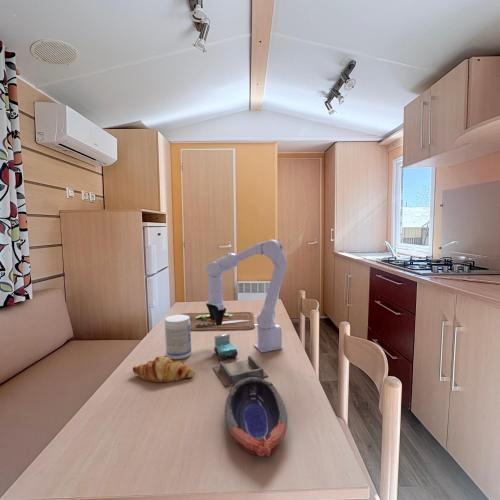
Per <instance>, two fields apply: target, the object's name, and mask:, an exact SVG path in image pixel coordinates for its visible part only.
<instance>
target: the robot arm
mask: <svg viewBox="0 0 500 500" xmlns="http://www.w3.org/2000/svg"><path fill="white" fill-rule="evenodd" d="M263 254H264V255H265V257H267V258H268V259H270V261H271V262H272V264H273V266H274V267H273V270H272V274H271V278H270V281H269V285H268V288H267V293H266V296H265V300H264V303H263V306H262V309H261V310H260V313H259V314H258V317H256V323H257V324H258V325H256V326H257V343H254V344H253V346H254V347H255V348H256V349H257V350H258V351H260V352H261V353H266V352H271V351H272V352H273V351H276V350H282V349H283V348H284V347H283V346H282V345H283V344H282V343H283V342H282V341H283V340H282V339H283V338H282V337H283V332H282V328H281V326H280V325H279V324H275V321H274V320H275V318H276V311H275V310H276V305H277V302H278V299H279V298H278V297H279V294H280V291H281V289H282V288H281V287H282V283H283V281H284V276H285V273H286V270H287V266H288V259H287V257H286V256H287V255H286V253H285V251H284V247H283V245H282V244H281V243H280V242H279V240H278V239H275V238H270V239H269V240H267V241H266V240H265V241H262V242H259V243H256V244H254V245H252V246H249V247H248V248H245V249H244V250H242V251H240V252H238V253H233V252H227V253H226V254H225V256H222V257H220V258H216V259H215V260H214V261H211V262H210V263H208V264H207V266H206V267H205V271H206V273H207V275H208V277H207V278H208V279H207V282H208V283H207V284H208V300H206V301H205V305H206V308H207V310H208V313H210V318H211V320H215V323H216V325H217V326H218V325H221V324H222V320H223V316H224V313H225V312H227V308H226V307H224V300H223V299H224V298H223V273H225V272H228V271H229V270H231V269H234V268H236V267H238V266H239V263H240V262H241V261H243V260H246V259H247V258H249V257H252V256H255V255H263Z"/></svg>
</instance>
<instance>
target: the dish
mask: <svg viewBox="0 0 500 500" xmlns="http://www.w3.org/2000/svg"><path fill="white" fill-rule="evenodd" d="M224 416H225V424H226V426H227V429H228V431H229V433H230V435H231V437H232V439H233V440H234V442H235V443H236V444H237V445H238V446H239V447H241V448H242V449H244V450H245V451H246V452H248V453H249V454H250V455H254V456H259V457H270V456H272V455H273V454H274V453H275V452H276V450H277V448H278V447H279V445H280V443H281V442H282V440H283V438H284V437H285V434H286V432H287V429H288V413H287V409H286V405H285V403H284V399H283V398H282V396H281V394H280V393H279V392H278V390H277V388H276V387H275V385H274V384H273V382H272V381H268V380H265V378H257V377H249V378H245V379H243V380H241V381H239V382H238V383H236V384H235V385H232V388H231V389H230V390H229V392H228V394H227V395H226V400H225V405H224Z"/></svg>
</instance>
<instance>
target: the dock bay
mask: <svg viewBox="0 0 500 500" xmlns="http://www.w3.org/2000/svg"><path fill="white" fill-rule="evenodd" d="M212 369H213V371H214V372H215V374H216V375H217V377H218V378H219V380H220V381H221V383H222V384H223V386H224V387H229V386H234V385H235V384H236V383H238V382H239V381H241V380H243V379H245V378H249V377H257V378H261V379H265V378H269V375H268V374H267V373H266V372H265V371H264V368H263V367H262V365H260V364H259V363H258V362H257V360H255V359H254V358H253V357H252V356H251V355H247V359H244V360H239V361H235V362H230V363H225V364H224V363H223V360H221V361H219V365H216V366H212Z"/></svg>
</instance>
